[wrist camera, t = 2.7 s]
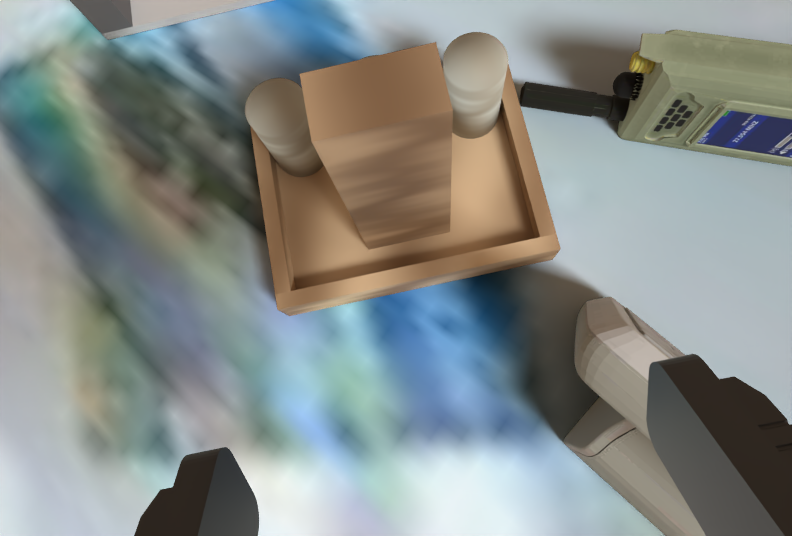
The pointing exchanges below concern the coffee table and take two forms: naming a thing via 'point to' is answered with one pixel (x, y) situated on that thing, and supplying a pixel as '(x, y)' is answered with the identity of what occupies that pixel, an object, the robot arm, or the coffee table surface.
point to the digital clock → (625, 413)
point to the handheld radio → (694, 96)
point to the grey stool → (150, 13)
